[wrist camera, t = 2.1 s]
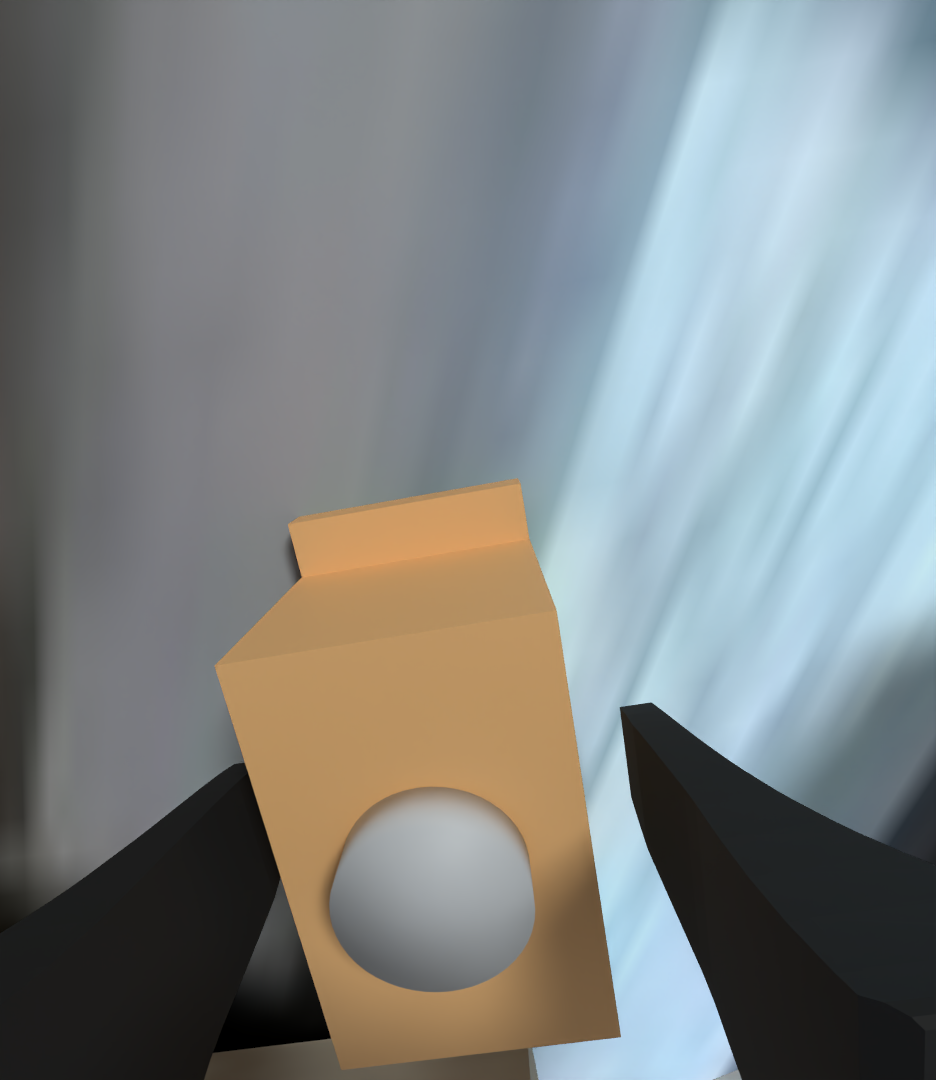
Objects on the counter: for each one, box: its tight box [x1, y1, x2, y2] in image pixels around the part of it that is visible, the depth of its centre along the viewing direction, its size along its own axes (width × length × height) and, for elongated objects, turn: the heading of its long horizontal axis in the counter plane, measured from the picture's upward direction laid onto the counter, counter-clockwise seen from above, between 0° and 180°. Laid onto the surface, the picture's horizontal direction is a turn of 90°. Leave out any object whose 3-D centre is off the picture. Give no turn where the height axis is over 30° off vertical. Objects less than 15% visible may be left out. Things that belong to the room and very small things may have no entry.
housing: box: [215, 478, 621, 1070], centre depth 11 cm, size 5×10×6 cm, turn 10°
